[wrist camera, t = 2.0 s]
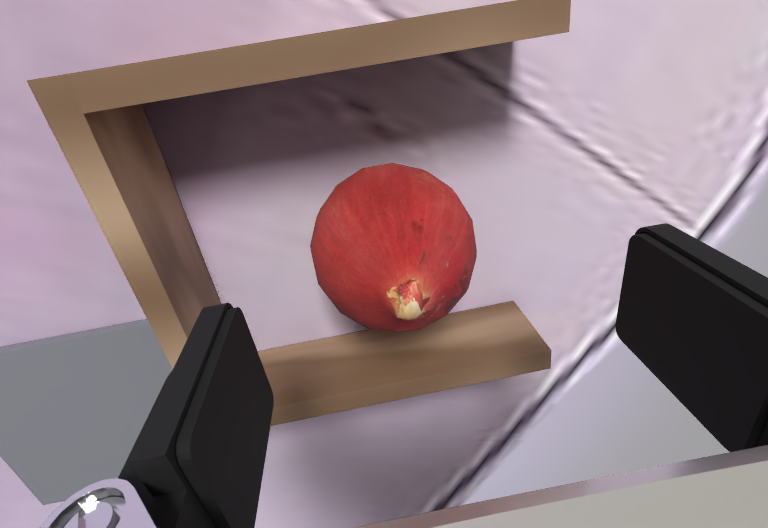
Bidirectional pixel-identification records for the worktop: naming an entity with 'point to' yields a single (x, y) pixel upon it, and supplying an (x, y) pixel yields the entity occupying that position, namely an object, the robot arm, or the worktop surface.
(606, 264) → the worktop surface
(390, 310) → the onion
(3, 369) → the mat
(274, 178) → the worktop surface
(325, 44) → the tan u-shaped frame
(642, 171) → the worktop surface
